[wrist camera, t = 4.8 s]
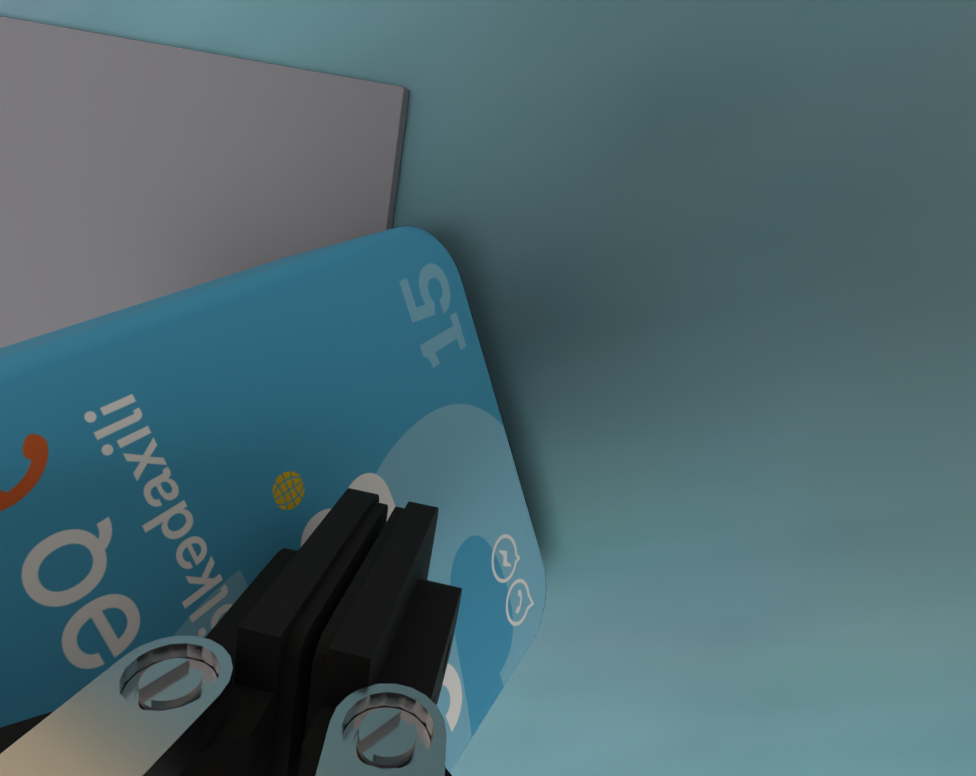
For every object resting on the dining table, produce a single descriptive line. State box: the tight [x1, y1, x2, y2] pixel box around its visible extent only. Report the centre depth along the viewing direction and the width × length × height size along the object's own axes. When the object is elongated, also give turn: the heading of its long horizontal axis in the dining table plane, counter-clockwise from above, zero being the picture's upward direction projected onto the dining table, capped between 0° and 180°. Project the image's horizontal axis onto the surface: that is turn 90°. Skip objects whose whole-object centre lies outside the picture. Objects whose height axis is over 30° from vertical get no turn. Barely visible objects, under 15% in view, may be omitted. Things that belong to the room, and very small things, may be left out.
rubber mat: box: [0, 16, 409, 348], centre depth 20 cm, size 14×18×1 cm
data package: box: [0, 226, 546, 773], centre depth 14 cm, size 12×4×12 cm, turn 15°
